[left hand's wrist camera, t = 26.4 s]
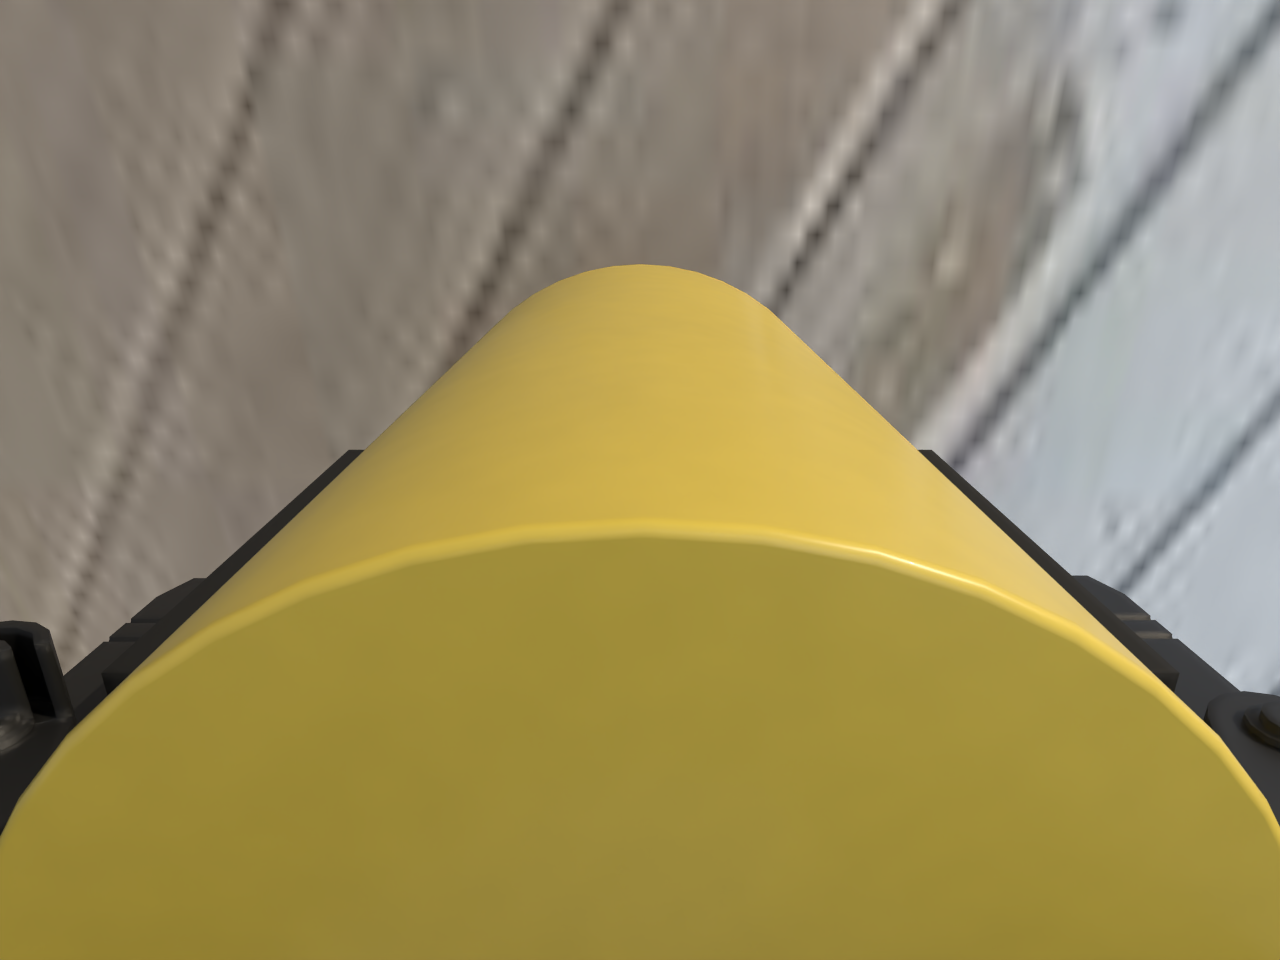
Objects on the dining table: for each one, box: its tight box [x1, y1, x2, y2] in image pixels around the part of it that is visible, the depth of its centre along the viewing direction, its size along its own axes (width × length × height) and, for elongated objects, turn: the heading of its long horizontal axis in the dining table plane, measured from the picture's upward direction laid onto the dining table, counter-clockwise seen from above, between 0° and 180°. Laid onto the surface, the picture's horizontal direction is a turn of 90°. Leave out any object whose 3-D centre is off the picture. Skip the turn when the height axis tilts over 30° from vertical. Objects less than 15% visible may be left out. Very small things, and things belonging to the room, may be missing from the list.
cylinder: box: [0, 264, 1280, 960], centre depth 11 cm, size 8×8×13 cm
